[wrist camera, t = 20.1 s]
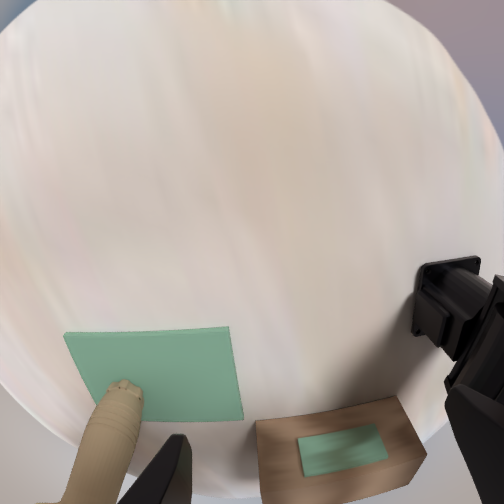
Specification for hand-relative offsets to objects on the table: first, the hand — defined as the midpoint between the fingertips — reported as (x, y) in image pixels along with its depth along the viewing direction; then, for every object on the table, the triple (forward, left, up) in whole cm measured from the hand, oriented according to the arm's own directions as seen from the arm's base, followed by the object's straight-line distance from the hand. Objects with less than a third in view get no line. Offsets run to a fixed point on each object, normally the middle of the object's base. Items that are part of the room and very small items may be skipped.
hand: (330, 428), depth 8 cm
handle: (+14, +10, -13) cm, 21 cm away
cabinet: (-4, +18, -13) cm, 23 cm away
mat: (+11, +9, -13) cm, 19 cm away
